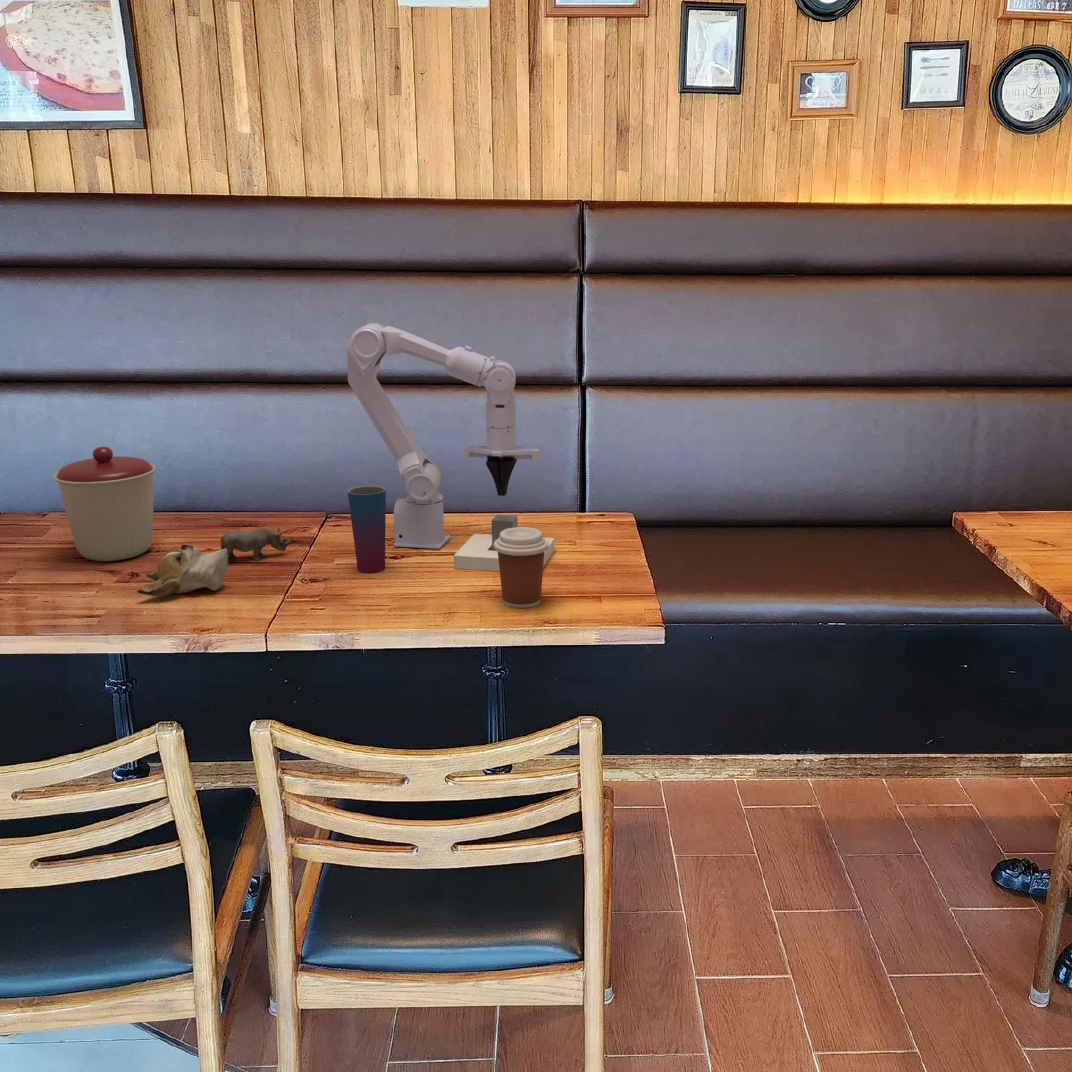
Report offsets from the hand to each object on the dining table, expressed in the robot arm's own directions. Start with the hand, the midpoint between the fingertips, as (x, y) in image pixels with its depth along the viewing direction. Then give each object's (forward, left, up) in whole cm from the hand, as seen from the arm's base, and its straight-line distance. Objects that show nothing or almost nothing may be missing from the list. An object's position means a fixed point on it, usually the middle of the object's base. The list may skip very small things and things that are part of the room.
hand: (502, 494), depth 197 cm
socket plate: (+3, -10, -10) cm, 14 cm away
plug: (+3, -10, -10) cm, 14 cm away
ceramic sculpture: (-47, -37, -10) cm, 61 cm away
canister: (-72, -21, -10) cm, 76 cm away
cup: (-20, -20, -10) cm, 30 cm away
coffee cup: (+11, -31, -10) cm, 34 cm away
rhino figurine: (-44, -18, -10) cm, 48 cm away
